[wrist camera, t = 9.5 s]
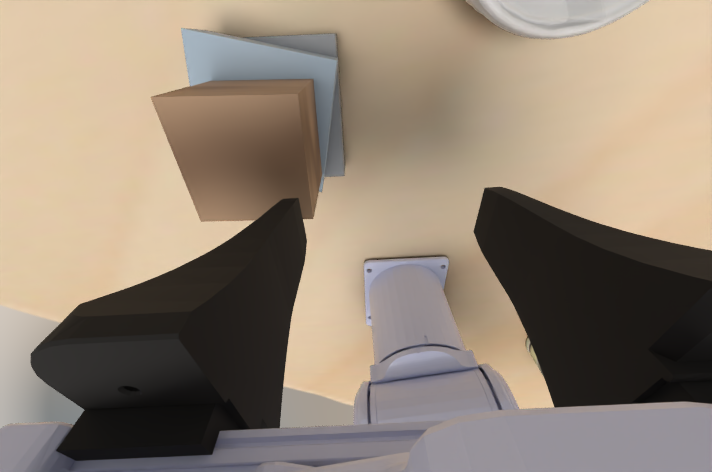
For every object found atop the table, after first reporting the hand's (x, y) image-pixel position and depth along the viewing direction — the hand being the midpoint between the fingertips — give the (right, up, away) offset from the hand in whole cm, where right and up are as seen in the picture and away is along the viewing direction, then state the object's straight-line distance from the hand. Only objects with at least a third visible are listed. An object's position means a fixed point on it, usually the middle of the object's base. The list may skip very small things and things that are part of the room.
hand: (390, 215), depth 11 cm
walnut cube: (-6, +5, +4) cm, 9 cm away
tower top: (-6, +7, +6) cm, 11 cm away
